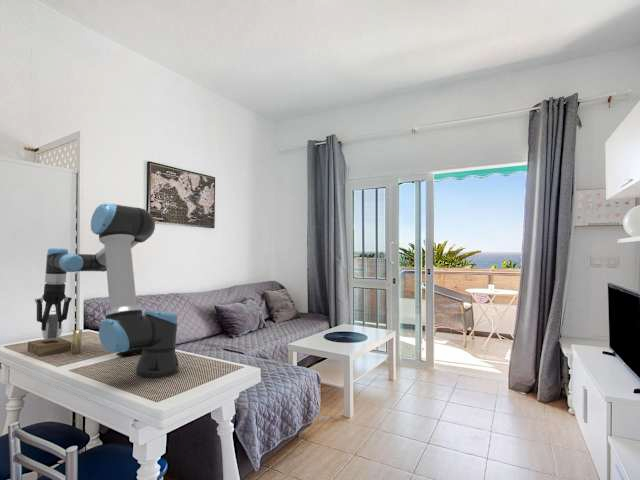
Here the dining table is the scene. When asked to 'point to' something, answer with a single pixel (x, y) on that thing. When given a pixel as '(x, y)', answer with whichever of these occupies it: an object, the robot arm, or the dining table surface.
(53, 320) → the square bit
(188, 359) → the dining table surface
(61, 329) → the white air blower
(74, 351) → the round bit
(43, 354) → the socket board
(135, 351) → the end cap
